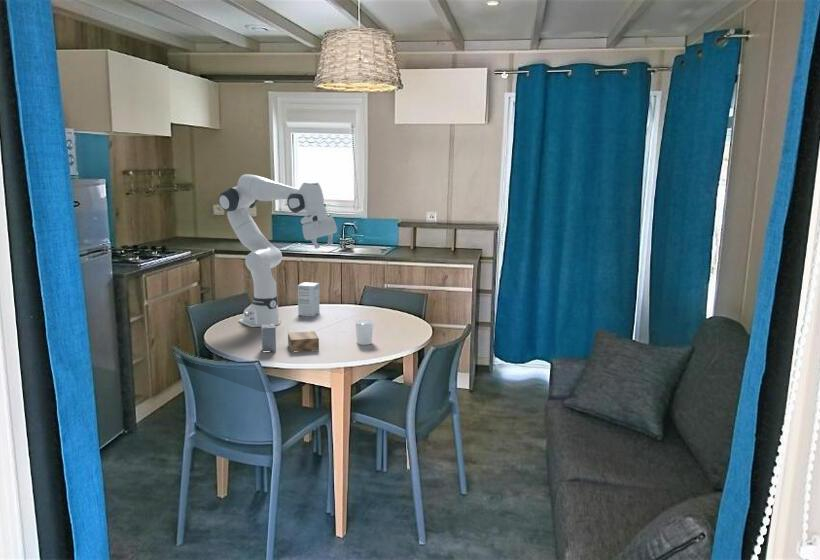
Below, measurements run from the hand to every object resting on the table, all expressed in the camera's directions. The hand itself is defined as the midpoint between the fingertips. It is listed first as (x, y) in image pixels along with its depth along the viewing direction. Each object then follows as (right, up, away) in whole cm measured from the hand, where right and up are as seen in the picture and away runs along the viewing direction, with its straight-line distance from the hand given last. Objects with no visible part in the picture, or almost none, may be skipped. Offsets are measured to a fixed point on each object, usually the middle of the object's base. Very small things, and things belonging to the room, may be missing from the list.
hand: (323, 246), depth 294 cm
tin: (-23, -46, -13) cm, 53 cm away
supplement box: (-16, -34, +56) cm, 67 cm away
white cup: (+18, -45, +1) cm, 48 cm away
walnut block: (-8, -46, -8) cm, 47 cm away
